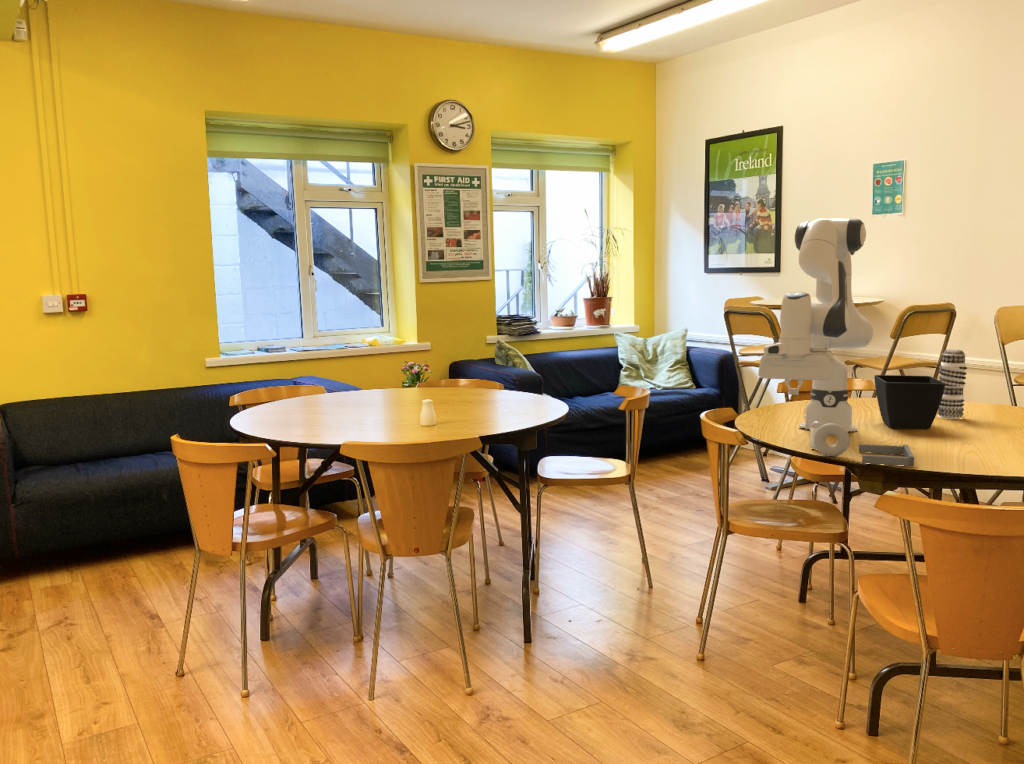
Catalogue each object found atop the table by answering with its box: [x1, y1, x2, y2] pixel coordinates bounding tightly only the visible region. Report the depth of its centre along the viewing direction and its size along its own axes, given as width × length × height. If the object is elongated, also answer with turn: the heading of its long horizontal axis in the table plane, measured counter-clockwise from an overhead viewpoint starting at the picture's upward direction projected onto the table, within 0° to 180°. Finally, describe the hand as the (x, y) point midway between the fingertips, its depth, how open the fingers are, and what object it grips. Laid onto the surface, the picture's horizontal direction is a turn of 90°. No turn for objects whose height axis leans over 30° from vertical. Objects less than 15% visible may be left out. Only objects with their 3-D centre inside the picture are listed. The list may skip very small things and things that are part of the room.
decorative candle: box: [937, 349, 968, 420], centre depth 306 cm, size 9×9×25 cm
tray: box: [858, 443, 915, 466], centre depth 240 cm, size 17×13×3 cm
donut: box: [814, 423, 851, 457], centre depth 245 cm, size 10×4×10 cm, turn 65°
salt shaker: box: [809, 421, 823, 449], centre depth 255 cm, size 4×4×9 cm
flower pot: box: [874, 374, 945, 430], centre depth 291 cm, size 19×19×17 cm
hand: (793, 394), depth 247 cm, fingers closed
